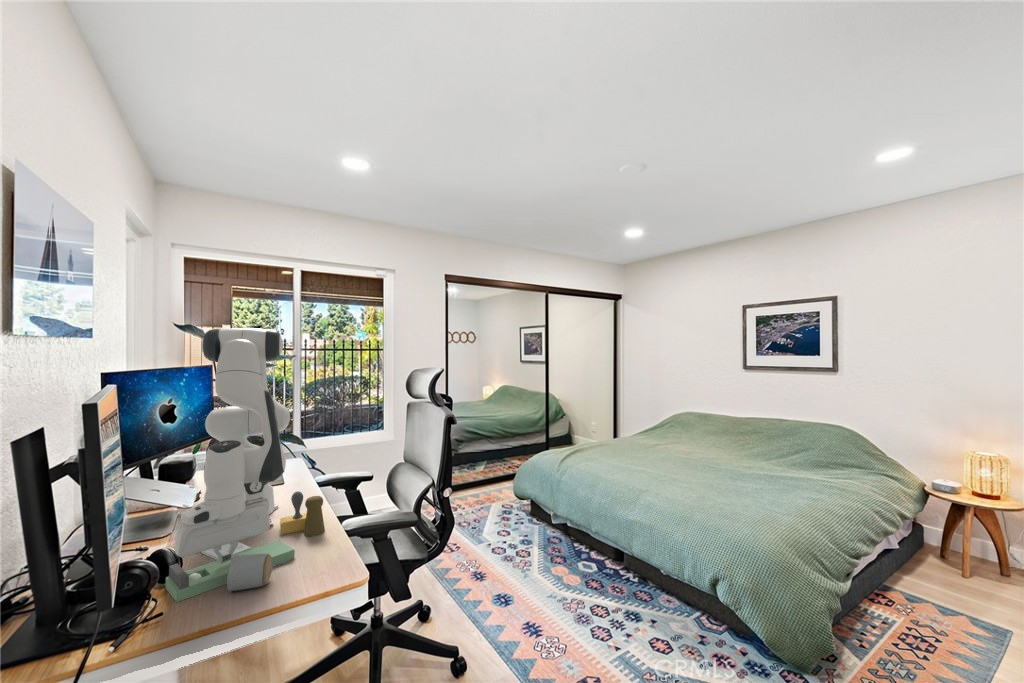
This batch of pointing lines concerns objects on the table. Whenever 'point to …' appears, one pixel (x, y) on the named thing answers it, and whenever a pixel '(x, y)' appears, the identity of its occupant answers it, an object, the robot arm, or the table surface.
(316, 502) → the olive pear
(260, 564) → the ceramic mug
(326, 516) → the table surface
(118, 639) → the table surface
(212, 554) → the external hard drive
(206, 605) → the table surface
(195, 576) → the ball
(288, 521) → the rubber stamp
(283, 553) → the putting strip
